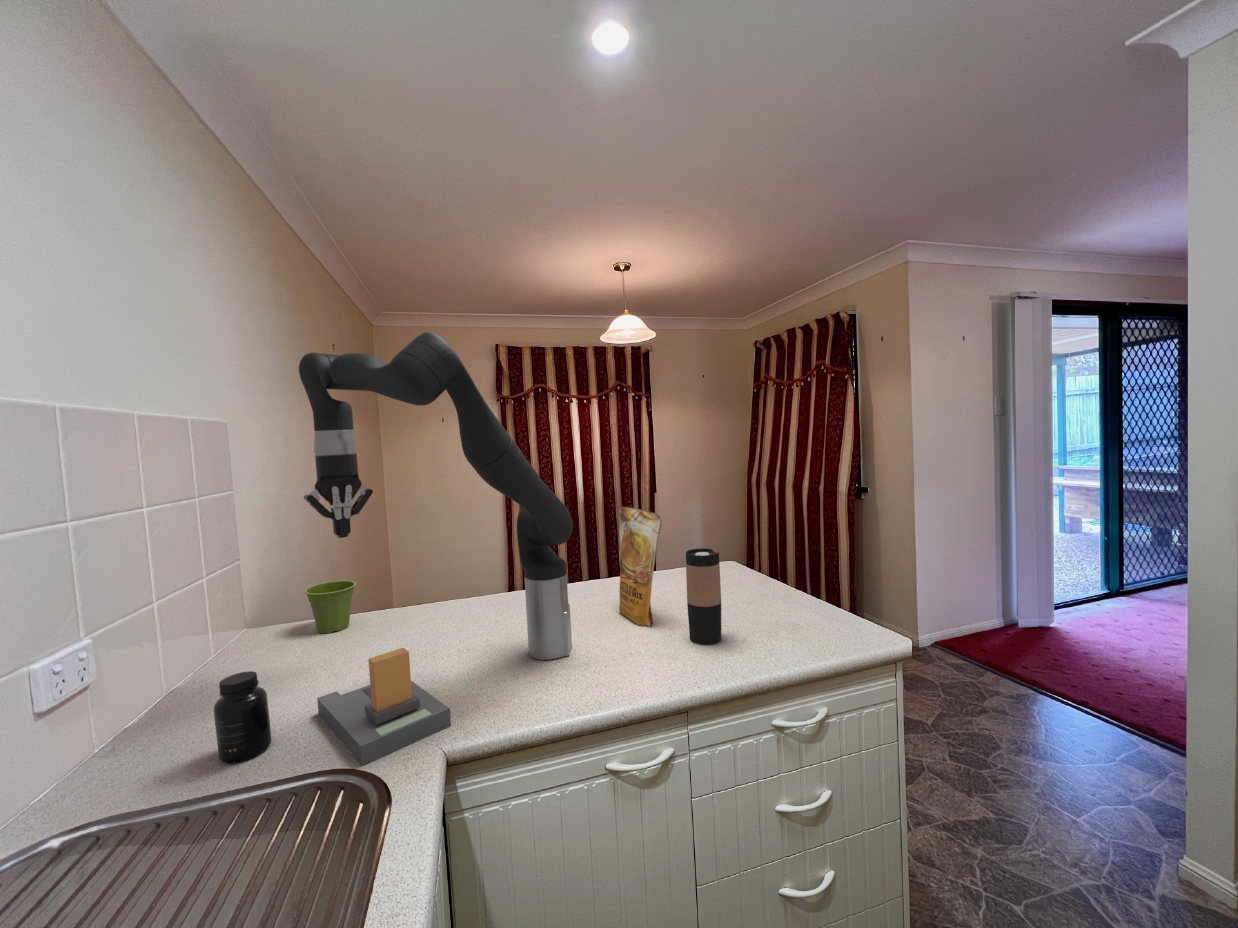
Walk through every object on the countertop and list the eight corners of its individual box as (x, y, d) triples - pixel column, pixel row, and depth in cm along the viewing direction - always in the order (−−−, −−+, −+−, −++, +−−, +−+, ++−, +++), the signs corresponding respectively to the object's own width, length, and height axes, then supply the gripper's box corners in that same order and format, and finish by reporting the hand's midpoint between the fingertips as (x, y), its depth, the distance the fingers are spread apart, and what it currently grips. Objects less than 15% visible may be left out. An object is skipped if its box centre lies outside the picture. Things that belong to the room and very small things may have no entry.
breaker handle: (365, 713, 85) (360, 657, 84) (407, 697, 90) (403, 644, 89) (376, 724, 81) (372, 666, 81) (420, 707, 86) (416, 651, 86)
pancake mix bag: (633, 604, 144) (629, 504, 143) (668, 625, 127) (663, 512, 126) (611, 608, 141) (606, 507, 140) (644, 631, 124) (638, 515, 123)
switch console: (318, 714, 92) (317, 696, 92) (397, 685, 102) (396, 669, 102) (362, 765, 77) (360, 744, 76) (450, 725, 86) (449, 706, 86)
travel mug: (684, 643, 116) (681, 555, 115) (693, 630, 123) (689, 547, 122) (719, 647, 113) (715, 556, 112) (725, 634, 120) (722, 548, 119)
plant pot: (300, 640, 129) (296, 595, 128) (316, 623, 140) (313, 582, 140) (352, 633, 132) (349, 590, 131) (363, 618, 143) (361, 578, 142)
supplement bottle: (236, 740, 85) (230, 669, 84) (280, 737, 85) (274, 665, 85) (207, 767, 78) (200, 689, 77) (255, 762, 79) (248, 685, 78)
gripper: (303, 454, 98) (311, 545, 99) (376, 450, 107) (382, 533, 108) (294, 455, 104) (301, 540, 105) (364, 451, 113) (370, 530, 114)
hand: (342, 536), depth 107 cm, fingers closed
